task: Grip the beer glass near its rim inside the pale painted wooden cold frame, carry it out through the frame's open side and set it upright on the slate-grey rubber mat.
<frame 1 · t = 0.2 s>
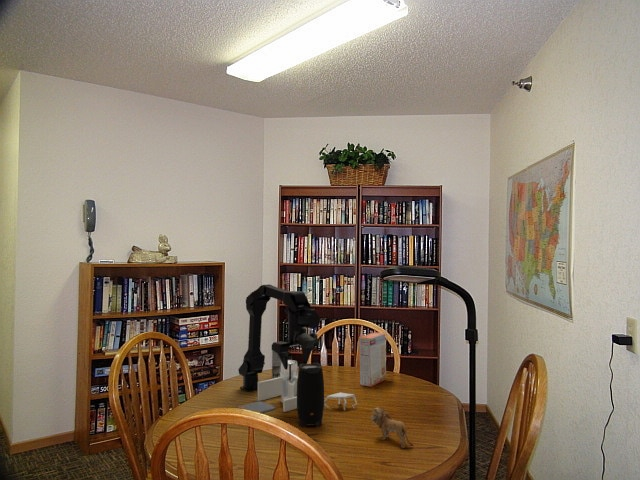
hand: (295, 367, 177), 14 cm above the table, tool pointing down, fingers open, 9 cm apart
beer glass: (288, 401, 182), on the table
lion figurine: (390, 441, 145), on the table
slate mat: (256, 408, 174), on the table
white legged piece: (338, 408, 175), on the table
coffee box: (280, 380, 211), on the table
cold frame: (288, 401, 182), on the table
cracker box: (372, 383, 208), on the table
portable speaker: (310, 424, 159), on the table
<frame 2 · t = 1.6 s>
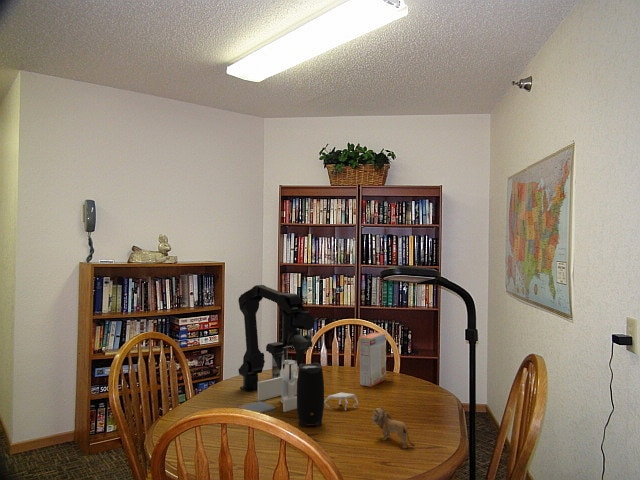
hand: (289, 367, 182), 13 cm above the table, tool pointing down, fingers open, 9 cm apart
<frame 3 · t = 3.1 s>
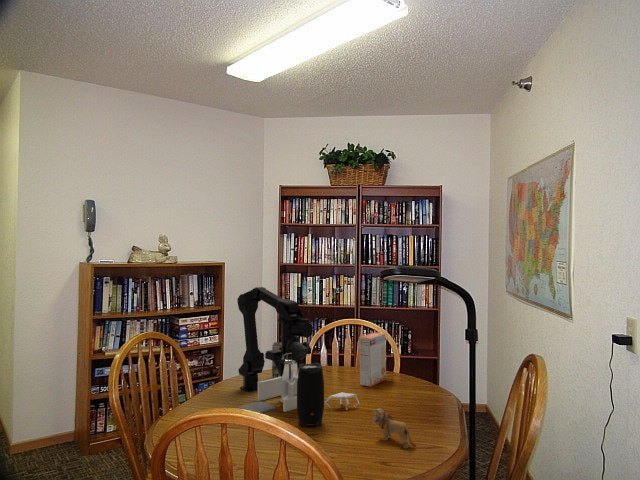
hand: (288, 374, 183), 10 cm above the table, tool pointing down, fingers closed on beer glass, 6 cm apart
beer glass: (288, 401, 182), on the table, touching gripper
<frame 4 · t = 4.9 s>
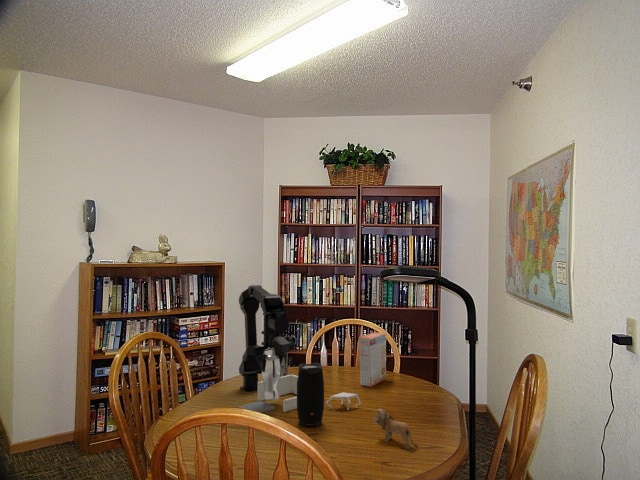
hand: (271, 370, 178), 13 cm above the table, tool pointing down, fingers closed on beer glass, 6 cm apart
beer glass: (271, 398, 178), point 3 cm above the table, touching gripper
when the fingers open (12 cm above the table, at t = 6.7 s): beer glass drops 1 cm, resting on slate mat.
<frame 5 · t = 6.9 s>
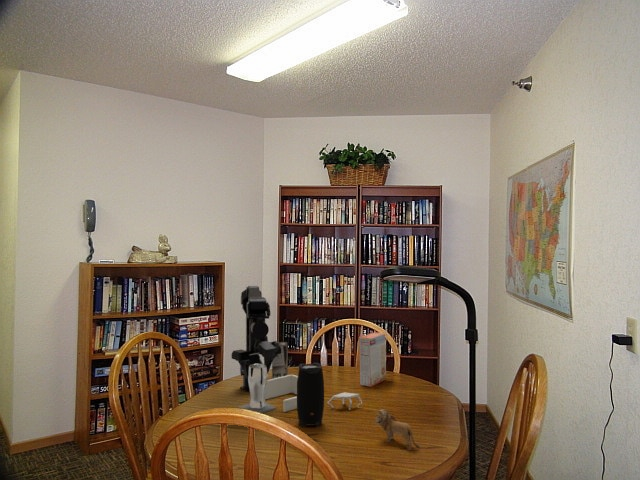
hand: (257, 375, 174), 12 cm above the table, tool pointing down, fingers open, 8 cm apart
beer glass: (257, 407, 174), resting on slate mat
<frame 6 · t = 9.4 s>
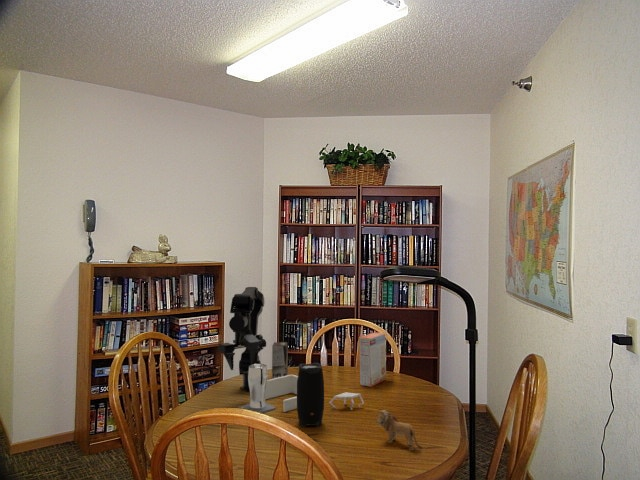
hand: (242, 367, 181), 13 cm above the table, tool pointing down, fingers open, 9 cm apart
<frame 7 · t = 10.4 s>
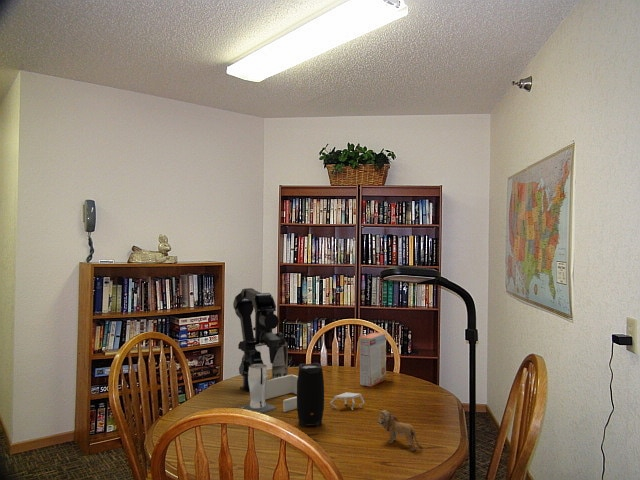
hand: (262, 365, 185), 13 cm above the table, tool pointing down, fingers open, 9 cm apart
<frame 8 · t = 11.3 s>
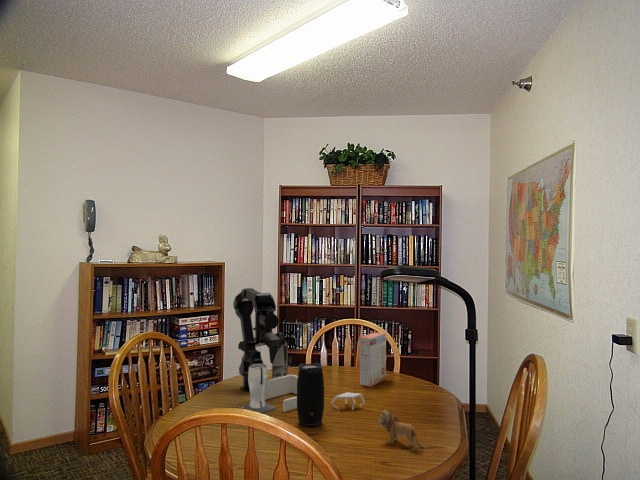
hand: (262, 365, 185), 13 cm above the table, tool pointing down, fingers open, 9 cm apart
at the end: beer glass inside the target area on the slate mat (0.5 cm from its centre), point 0.3 cm above the slate mat's base; beer glass tilted 0°; the gripper is holding nothing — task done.
